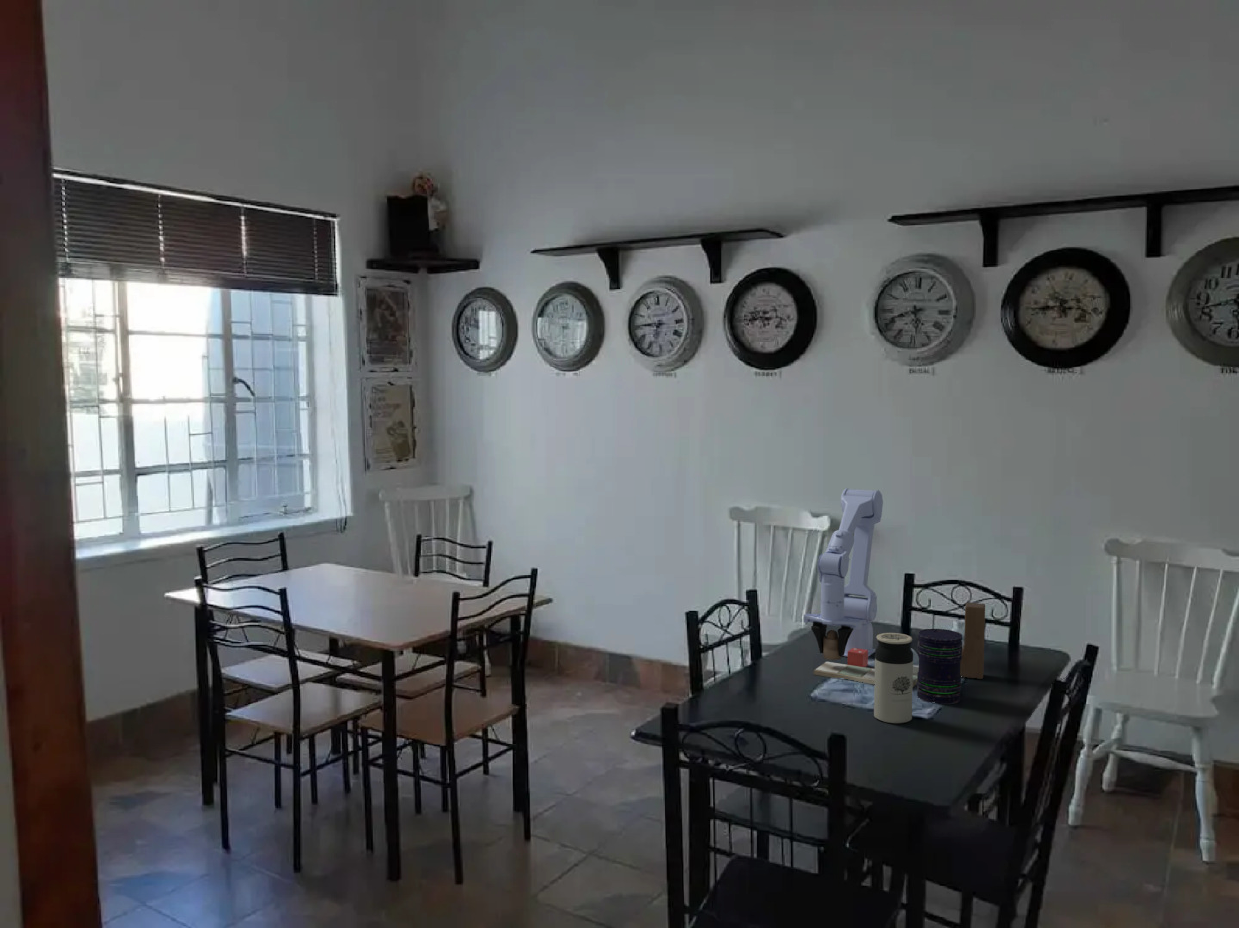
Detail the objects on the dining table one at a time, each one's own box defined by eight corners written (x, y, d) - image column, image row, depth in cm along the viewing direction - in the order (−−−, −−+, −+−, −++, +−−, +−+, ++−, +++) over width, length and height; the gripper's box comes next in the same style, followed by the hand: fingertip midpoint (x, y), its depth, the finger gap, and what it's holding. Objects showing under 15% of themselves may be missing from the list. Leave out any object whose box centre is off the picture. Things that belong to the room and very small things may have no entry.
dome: (896, 662, 254) (897, 642, 254) (924, 667, 250) (925, 646, 250) (888, 670, 248) (889, 648, 248) (916, 674, 244) (917, 652, 244)
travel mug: (870, 711, 220) (871, 632, 219) (906, 711, 220) (908, 632, 218) (878, 724, 212) (880, 642, 211) (916, 724, 212) (917, 642, 210)
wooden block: (944, 675, 245) (945, 604, 244) (945, 670, 250) (947, 600, 248) (982, 679, 242) (984, 607, 240) (983, 674, 246) (985, 603, 245)
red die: (852, 662, 257) (852, 647, 256) (867, 665, 255) (868, 649, 254) (847, 666, 253) (847, 651, 253) (862, 669, 251) (862, 653, 251)
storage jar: (968, 703, 225) (970, 639, 224) (926, 705, 224) (927, 640, 223) (950, 689, 235) (952, 628, 233) (910, 691, 234) (911, 629, 233)
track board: (826, 665, 255) (826, 660, 255) (920, 680, 242) (920, 675, 242) (813, 674, 247) (813, 669, 247) (910, 690, 234) (910, 685, 234)
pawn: (826, 653, 252) (827, 626, 251) (843, 656, 250) (843, 629, 249) (820, 658, 248) (820, 630, 248) (837, 660, 246) (837, 633, 245)
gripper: (799, 600, 248) (798, 653, 250) (855, 607, 240) (854, 662, 242) (809, 594, 254) (809, 646, 255) (864, 601, 246) (864, 654, 248)
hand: (832, 653), depth 249 cm, fingers closed on pawn, 4 cm apart
